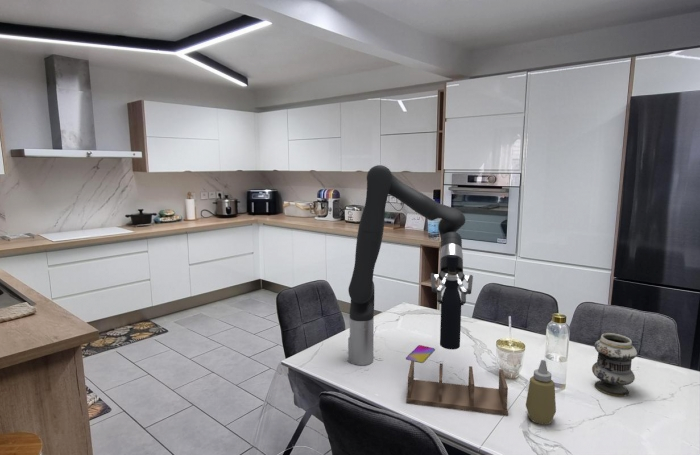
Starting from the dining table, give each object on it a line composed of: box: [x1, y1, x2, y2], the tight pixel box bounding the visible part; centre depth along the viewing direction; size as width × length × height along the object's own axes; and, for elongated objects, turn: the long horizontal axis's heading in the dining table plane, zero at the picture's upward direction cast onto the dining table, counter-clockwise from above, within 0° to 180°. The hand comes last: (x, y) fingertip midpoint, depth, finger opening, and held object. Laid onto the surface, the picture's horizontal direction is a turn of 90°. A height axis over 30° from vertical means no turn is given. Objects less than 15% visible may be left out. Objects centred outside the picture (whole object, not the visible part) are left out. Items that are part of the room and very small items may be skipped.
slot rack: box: [405, 360, 509, 417], centre depth 131 cm, size 30×13×8 cm, turn 77°
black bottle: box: [439, 255, 462, 351], centre depth 133 cm, size 6×6×30 cm
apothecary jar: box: [591, 332, 638, 397], centre depth 136 cm, size 12×12×18 cm
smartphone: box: [405, 344, 436, 364], centre depth 165 cm, size 7×1×15 cm
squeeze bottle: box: [525, 359, 557, 425], centre depth 119 cm, size 8×8×18 cm
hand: (451, 303), depth 132 cm, fingers closed on black bottle, 6 cm apart
